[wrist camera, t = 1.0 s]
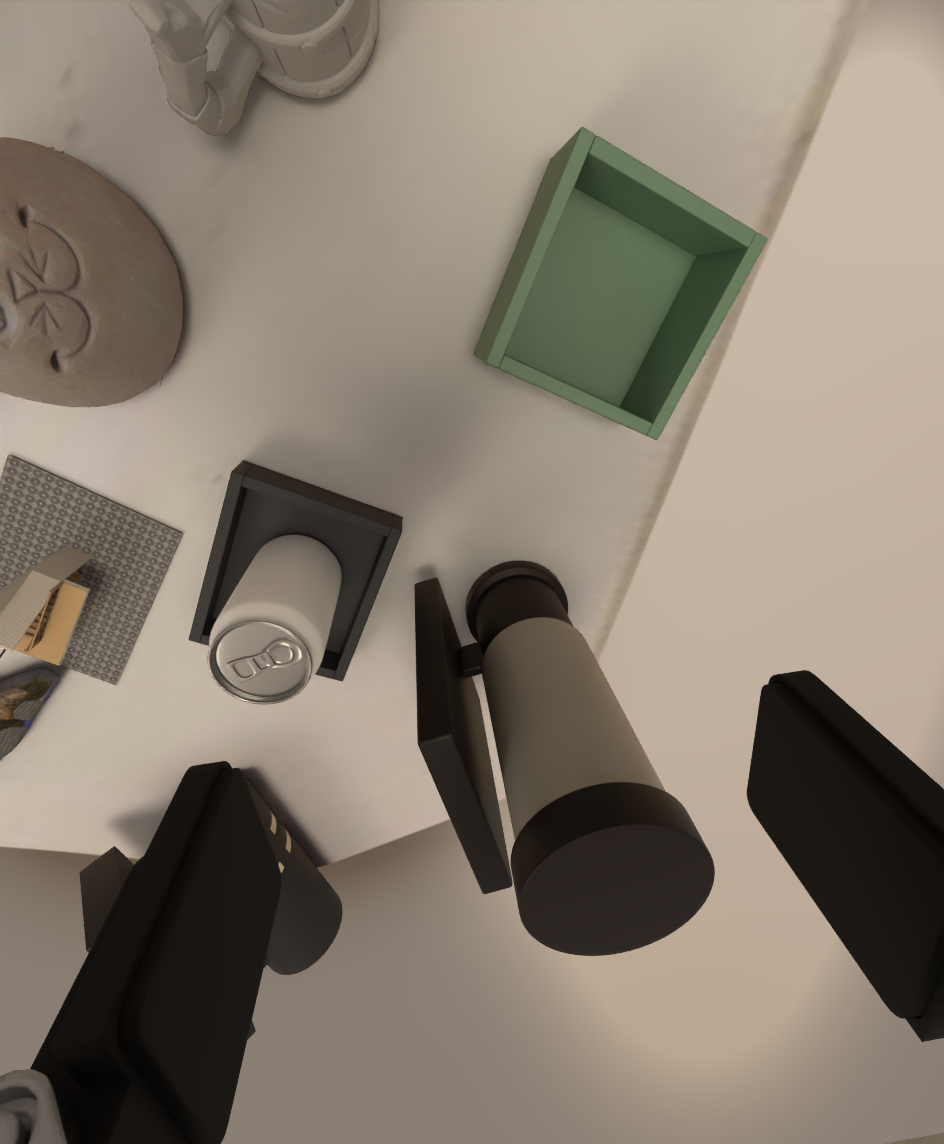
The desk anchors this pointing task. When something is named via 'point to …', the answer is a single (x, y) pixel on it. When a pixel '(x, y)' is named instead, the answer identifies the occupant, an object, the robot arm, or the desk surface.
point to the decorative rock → (22, 704)
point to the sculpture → (79, 284)
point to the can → (276, 621)
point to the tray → (294, 507)
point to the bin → (616, 286)
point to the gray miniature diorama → (74, 572)
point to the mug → (256, 50)
